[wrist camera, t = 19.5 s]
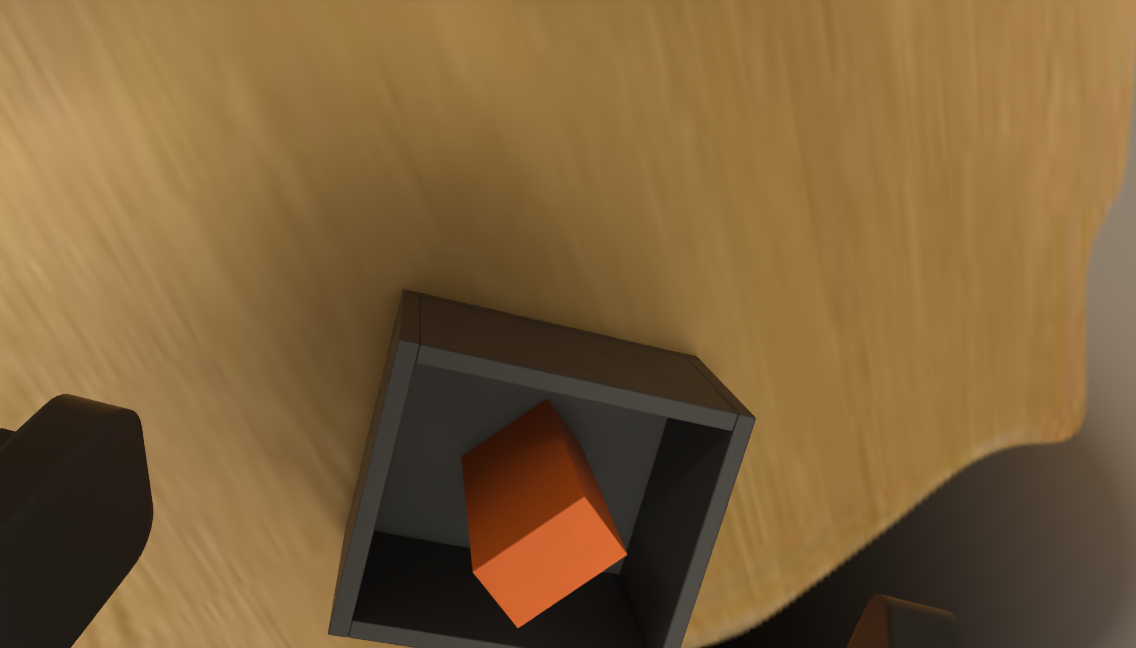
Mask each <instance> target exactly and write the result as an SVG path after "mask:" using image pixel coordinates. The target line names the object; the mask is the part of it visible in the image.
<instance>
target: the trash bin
mask: <svg viewBox="0 0 1136 648" xmlns="http://www.w3.org/2000/svg"><path fill="white" fill-rule="evenodd" d="M546 399H548V400H549V401H550V403H551V404H552V405H553V407H554V408H555V410H556V411H557V412H558V414H559V415H560V417H561V418H562V419H563V421H564V422H565V424H566V425H567V426H568V428H569V429H570V431H571V432H572V433H573V435H574V436H575V438H576V439H577V440H578V442H579V443H580V444H581V447H582V449H583V451H584V454H585V456H586V458H587V461H588V463H589V465H590V468H591V470H592V472H593V475H594V477H595V479H596V482H597V484H598V486H599V489H600V491H601V494H602V496H603V498H604V501H605V503H606V505H607V508H608V510H609V512H610V515H611V517H612V519H613V522H614V524H615V526H616V529H617V531H618V534H619V536H620V538H621V541H622V543H623V545H624V548H625V550H626V552H627V555H626V556H625V557H623V558H622V559H620V560H619V561H617V562H616V563H614V564H613V565H611V566H610V567H608V568H607V569H605V570H604V571H602V572H601V573H599V574H598V575H596V576H595V577H593V578H592V579H590V580H589V581H587V582H586V583H584V584H583V585H582V586H580V587H579V588H577V589H576V590H574V591H573V592H571V593H570V594H568V595H567V596H565V597H564V598H562V599H561V600H559V601H558V602H556V603H555V604H553V605H552V606H550V607H549V608H547V609H546V610H544V611H543V612H541V613H540V614H538V615H537V616H535V617H534V618H532V619H531V620H529V621H528V622H526V623H525V624H524V625H522V626H521V627H519V628H517V627H516V625H515V624H514V623H513V622H512V620H511V619H510V618H509V617H508V615H507V614H506V613H505V612H504V610H503V609H502V608H501V607H500V605H499V604H498V603H497V602H496V600H495V599H494V598H493V597H492V595H491V594H490V593H489V592H488V590H487V589H486V588H485V587H484V585H483V584H482V583H481V582H480V580H479V579H478V578H477V577H476V576H475V574H474V573H473V568H472V558H471V548H470V539H469V529H468V519H467V509H466V499H465V489H464V479H463V469H462V460H461V457H462V456H463V455H465V454H466V453H468V452H469V451H471V450H472V449H474V448H475V447H477V446H478V445H479V444H481V443H482V442H484V441H485V440H487V439H488V438H490V437H491V436H493V435H494V434H496V433H497V432H499V431H500V430H502V429H503V428H505V427H506V426H507V425H509V424H510V423H512V422H513V421H515V420H516V419H518V418H519V417H521V416H522V415H524V414H525V413H527V412H528V411H530V410H531V409H533V408H534V407H536V406H537V405H538V404H540V403H541V402H543V401H544V400H546ZM755 420H756V418H755V416H754V415H753V414H752V413H751V412H750V411H749V410H748V409H747V408H746V407H745V406H744V405H743V404H742V403H741V402H740V401H739V400H738V399H737V398H736V397H735V396H734V395H733V394H732V393H731V392H730V391H729V390H728V388H727V387H726V386H725V385H724V384H723V383H722V382H721V381H720V380H719V379H718V378H717V377H716V376H715V375H714V374H713V373H712V372H711V371H710V370H709V369H708V368H707V367H706V366H705V365H704V364H703V363H702V362H701V360H700V359H699V358H698V357H695V356H690V355H686V354H682V353H677V352H673V351H669V350H664V349H660V348H656V347H651V346H647V345H643V344H638V343H634V342H630V341H625V340H621V339H617V338H612V337H608V336H604V335H599V334H595V333H591V332H586V331H582V330H578V329H573V328H569V327H565V326H560V325H556V324H552V323H547V322H543V321H539V320H534V319H530V318H526V317H521V316H517V315H513V314H508V313H504V312H500V311H495V310H491V309H487V308H482V307H478V306H474V305H469V304H465V303H461V302H456V301H452V300H448V299H443V298H439V297H435V296H430V295H426V294H422V293H417V292H413V291H409V290H403V292H402V296H401V300H400V304H399V309H398V313H397V317H396V321H395V325H394V330H393V334H392V338H391V342H390V346H389V350H388V355H387V359H386V363H385V367H384V371H383V376H382V380H381V384H380V388H379V392H378V397H377V401H376V405H375V409H374V413H373V418H372V422H371V426H370V430H369V434H368V438H367V443H366V447H365V451H364V455H363V459H362V464H361V468H360V472H359V476H358V480H357V485H356V489H355V493H354V497H353V501H352V506H351V510H350V514H349V518H348V522H347V527H346V531H345V535H344V541H343V547H342V553H341V559H340V565H339V571H338V577H337V583H336V588H335V594H334V600H333V606H332V612H331V618H330V624H329V630H328V634H329V635H334V636H341V637H349V638H355V639H362V640H368V641H375V642H381V643H388V644H394V645H401V646H407V647H414V648H680V647H681V644H682V641H683V638H684V635H685V632H686V629H687V626H688V623H689V620H690V617H691V614H692V611H693V608H694V605H695V602H696V599H697V596H698V593H699V590H700V587H701V584H702V581H703V578H704V575H705V572H706V569H707V566H708V562H709V559H710V556H711V553H712V550H713V547H714V544H715V541H716V538H717V535H718V532H719V529H720V526H721V523H722V520H723V517H724V514H725V511H726V508H727V505H728V502H729V499H730V496H731V493H732V490H733V487H734V484H735V481H736V478H737V475H738V471H739V468H740V465H741V462H742V459H743V456H744V453H745V450H746V447H747V444H748V441H749V438H750V435H751V432H752V429H753V426H754V423H755Z"/></svg>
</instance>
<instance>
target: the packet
mask: <svg viewBox="0 0 1136 648" xmlns="http://www.w3.org/2000/svg"><path fill="white" fill-rule="evenodd" d="M461 460H462V469H463V479H464V489H465V499H466V509H467V519H468V529H469V539H470V548H471V558H472V568H473V573H474V574H475V576H476V577H477V578H478V579H479V580H480V582H481V583H482V584H483V585H484V587H485V588H486V589H487V590H488V592H489V593H490V594H491V595H492V597H493V598H494V599H495V600H496V602H497V603H498V604H499V605H500V607H501V608H502V609H503V610H504V612H505V613H506V614H507V615H508V617H509V618H510V619H511V620H512V622H513V623H514V624H515V625H516V627H517V628H519V627H521V626H522V625H524V624H525V623H526V622H528V621H529V620H531V619H532V618H534V617H535V616H537V615H538V614H540V613H541V612H543V611H544V610H546V609H547V608H549V607H550V606H552V605H553V604H555V603H556V602H558V601H559V600H561V599H562V598H564V597H565V596H567V595H568V594H570V593H571V592H573V591H574V590H576V589H577V588H579V587H580V586H582V585H583V584H584V583H586V582H587V581H589V580H590V579H592V578H593V577H595V576H596V575H598V574H599V573H601V572H602V571H604V570H605V569H607V568H608V567H610V566H611V565H613V564H614V563H616V562H617V561H619V560H620V559H622V558H623V557H625V556H626V555H627V552H626V550H625V548H624V545H623V543H622V541H621V538H620V536H619V534H618V531H617V529H616V526H615V524H614V522H613V519H612V517H611V515H610V512H609V510H608V508H607V505H606V503H605V501H604V498H603V496H602V494H601V491H600V489H599V486H598V484H597V482H596V479H595V477H594V475H593V472H592V470H591V468H590V465H589V463H588V461H587V458H586V456H585V454H584V451H583V449H582V447H581V444H580V443H579V442H578V440H577V439H576V438H575V436H574V435H573V433H572V432H571V431H570V429H569V428H568V426H567V425H566V424H565V422H564V421H563V419H562V418H561V417H560V415H559V414H558V412H557V411H556V410H555V408H554V407H553V405H552V404H551V403H550V401H549V400H548V399H546V400H544V401H543V402H541V403H540V404H538V405H537V406H536V407H534V408H533V409H531V410H530V411H528V412H527V413H525V414H524V415H522V416H521V417H519V418H518V419H516V420H515V421H513V422H512V423H510V424H509V425H507V426H506V427H505V428H503V429H502V430H500V431H499V432H497V433H496V434H494V435H493V436H491V437H490V438H488V439H487V440H485V441H484V442H482V443H481V444H479V445H478V446H477V447H475V448H474V449H472V450H471V451H469V452H468V453H466V454H465V455H463V456H462V457H461Z"/></svg>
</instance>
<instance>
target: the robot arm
mask: <svg viewBox="0 0 1136 648" xmlns="http://www.w3.org/2000/svg"><path fill="white" fill-rule="evenodd" d="M152 521H153V502H152V495H151V488H150V481H149V474H148V467H147V460H146V453H145V446H144V439H143V431H142V425H141V421H140V418H139V416H138V415H137V413H136V412H134V411H133V410H130V409H126V408H122V407H118V406H114V405H110V404H106V403H102V402H98V401H94V400H90V399H86V398H82V397H78V396H74V395H70V394H62V395H59V396H56V397H55V398H53V399H51V400H50V401H49V402H47V403H46V404H45V405H44V406H43V407H42V408H41V409H40V410H39V411H38V412H36V413H35V414H34V415H33V416H32V417H31V418H30V419H29V420H28V421H27V422H26V423H25V424H23V425H22V426H21V427H20V428H19V429H18V430H17V431H16V432H15V431H11V430H7V429H3V428H0V648H71V647H72V645H73V644H74V643H75V641H76V640H77V639H78V638H79V636H80V635H81V634H82V632H83V631H84V630H85V629H86V627H87V626H88V625H89V623H90V622H91V621H92V620H93V618H94V617H95V616H96V614H97V613H98V612H99V610H100V609H101V608H102V607H103V605H104V604H105V603H106V601H107V600H108V599H109V598H110V596H111V595H112V594H113V592H114V591H115V590H116V588H117V587H118V586H119V585H120V583H121V582H122V581H123V579H124V578H125V577H126V576H127V574H128V573H129V572H130V570H131V569H132V568H133V566H134V565H135V564H136V562H137V561H138V559H139V557H140V556H141V554H142V552H143V550H144V548H145V545H146V543H147V540H148V537H149V534H150V531H151V527H152ZM847 648H962V642H961V636H960V631H959V627H958V623H957V620H956V618H955V617H954V615H953V614H952V613H951V612H949V611H944V610H940V609H937V608H933V607H929V606H925V605H920V604H917V603H913V602H908V601H905V600H900V599H897V598H892V597H888V596H885V595H881V594H876V595H874V596H873V597H872V598H871V599H870V601H869V603H868V604H867V606H866V608H865V610H864V613H863V615H862V616H861V618H860V621H859V623H858V625H857V627H856V629H855V631H854V633H853V635H852V637H851V639H850V641H849V643H848V645H847Z"/></svg>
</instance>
